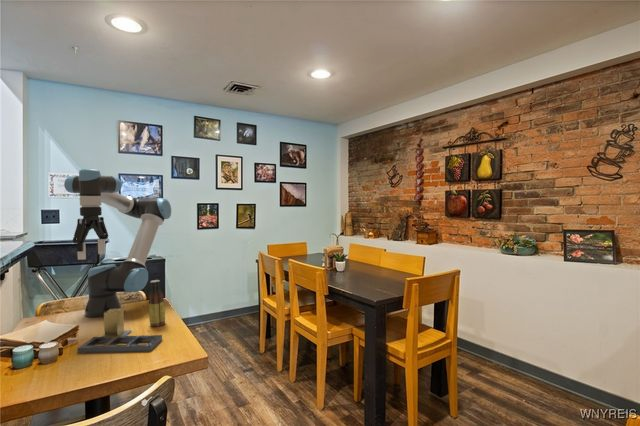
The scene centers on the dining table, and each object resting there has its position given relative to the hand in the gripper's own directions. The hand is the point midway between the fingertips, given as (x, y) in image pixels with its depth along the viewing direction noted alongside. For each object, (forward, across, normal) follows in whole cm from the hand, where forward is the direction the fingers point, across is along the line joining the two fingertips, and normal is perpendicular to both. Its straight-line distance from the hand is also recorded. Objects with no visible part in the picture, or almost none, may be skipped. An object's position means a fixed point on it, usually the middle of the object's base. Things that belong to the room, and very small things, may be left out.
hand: (92, 256), depth 143 cm
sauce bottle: (+32, -5, +24) cm, 40 cm away
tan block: (+31, +7, +12) cm, 34 cm away
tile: (+32, +7, +12) cm, 35 cm away
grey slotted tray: (+32, +17, +20) cm, 41 cm away
